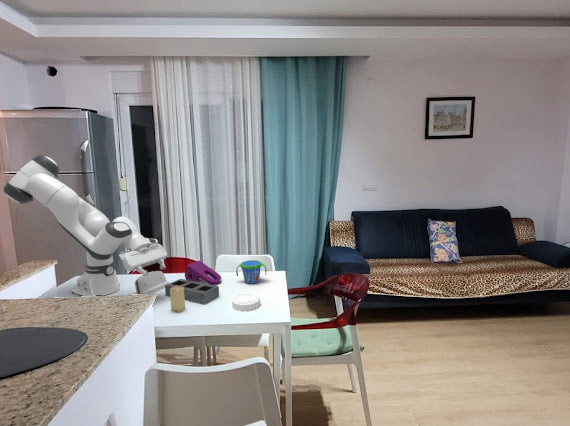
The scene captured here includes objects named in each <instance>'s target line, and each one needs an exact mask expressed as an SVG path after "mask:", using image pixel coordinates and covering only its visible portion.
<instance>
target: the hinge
mask: <svg viewBox="0 0 570 426" xmlns="http://www.w3.org/2000/svg"><path fill="white" fill-rule="evenodd" d="M167 284H169V281H168V280H167V279H166V277H165V274H164V272H163V271H162V270H156V271H149V272H148V274H147V275H146V276H143V275H141V276H140V277H138V278H137V279H136V280H134V287H135V291H136V295H137V294H142V295H143V294H151V293H153V294H155V293H157V292H159V291H161V290H165V285H167ZM151 295H152V294H151Z"/></svg>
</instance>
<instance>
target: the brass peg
mask: <svg viewBox="0 0 570 426" xmlns="http://www.w3.org/2000/svg"><path fill="white" fill-rule="evenodd" d="M169 297H170V307H171V308H170V310H171V312H173V313H176V314H180V313H181V312H183V311H185V310H186V300H185V297H184V287H182V286H175V287H172V288H170V296H169Z"/></svg>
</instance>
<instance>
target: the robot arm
mask: <svg viewBox="0 0 570 426" xmlns="http://www.w3.org/2000/svg"><path fill="white" fill-rule="evenodd" d="M59 174H60V167H59V166H58V164H57V162H56V161H55V160H54V159H52V158H51V157H48V156H45V155H43V154H38V155H36V156H34V157H32V158H31V160H30V161H28V162H27V163H25V164H24V165H23V166H22V167H21V168H20V169H19V171H17V172H16V174H15V175H14V176H12V178H11V179H10V180H9V181H8V182H7V183H6V184H5V185H4V186H3V192H4V194H5V195H6V196H7V198H8V199H10V201H12V202H15V203H17V204H22V205H23V204H28V203H30V202H33V201H34V198H35V199H36V201H38V202H39V203H41V204H42V205H44V206H45V207H46V208H47V209H49V210H50V211H51V212H52V213H53V215H54V216H55V218H56V221H57V223H58V225H59V226H60V227H61V229H63V230H64V231H65V232H66V233H67V234H69V236H70V237H71V238H73V239H74V240H75V241H76V242H77V243H78V244H79V245H80V246H82V247H83V249H85V252H86V254H85V255H86V260H87V261H86V262H87V264H86V265H84V266H83V268H84V269H85V270H84V271H85V272H84V273H83V274H82V275H80V277H78V278H77V280H76V287H74V288H73V289H71V293H72V292H74V293H73V294H75V293H77V294H80V295H83V296H93V295H102V296H107V295H110V294H114V293H116V292H117V291H119V290H120V285H121V284H120V282H119V281H118V275H117V271H116V270H115V268H116V264H115V261H114V257H113V255H114V253H115V251H116V250H117V249H118V248H119V247H120V245H124V248H125V250H124V251H120V252H119V254H118V257H119V259H120V260H121V262H122V265H123V267H124V268H125V270H126V271H127V272H132V271H137V272H138V273H139V274H142V275H143V276H146V275H147V274H148V273H149V272H148V270H147V269H143V268H144V267H148V266H150V265H153V264H157V263H158V264H159V265H160V266H159V268H160V271H162V270H165V269H166V268H167V267H166V265H165V261H164V260H166V258H167V257H168V252H167V251H166V249H165V248H164V246H163V245H162V244H160V243H159V240H158V239H156V238H148V237H144V235H142V234H141V232H140V230H139V228H138V227H137V225H135V223H134V222H133V221H132V220H131V219H130V218H129V217H128V216H118V217H116V218H115V219H113V220H112V221H110V219H109V218H108V217H107V216H106V214H104V213H103V212H102V211H100V210H99V209H97V208H95V207H94V206H93V205H92V204H91V203H89V202H87V201H86V200H84V199H83V198H81V197H80V196H79V195H78V194H77V192H76V191H74V190H73V189H72V188H71V187H69V186H68V185H66V184H65V183H64V182H62V181H60V180H59V179H58V178H59ZM142 275H141V276H142ZM77 294H76V295H77ZM80 295H79V296H80ZM83 296H82V297H83Z"/></svg>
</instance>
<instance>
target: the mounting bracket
mask: <svg viewBox="0 0 570 426" xmlns="http://www.w3.org/2000/svg"><path fill="white" fill-rule="evenodd" d="M184 279H185V280H190V281H195V282H199V280H201V281H203V283H205V284H210V285H215V286H218V285H219V284H220V283H221V280H222V276H221V274H220V273H218V272H217V271H216V270H214V269H212V268H211V267H209V266H208V265H207V264H206V263H204V262H202V261H201V260H197V261H195V262H192V263H190V264H187V266H186V269H185V271H184Z"/></svg>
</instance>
